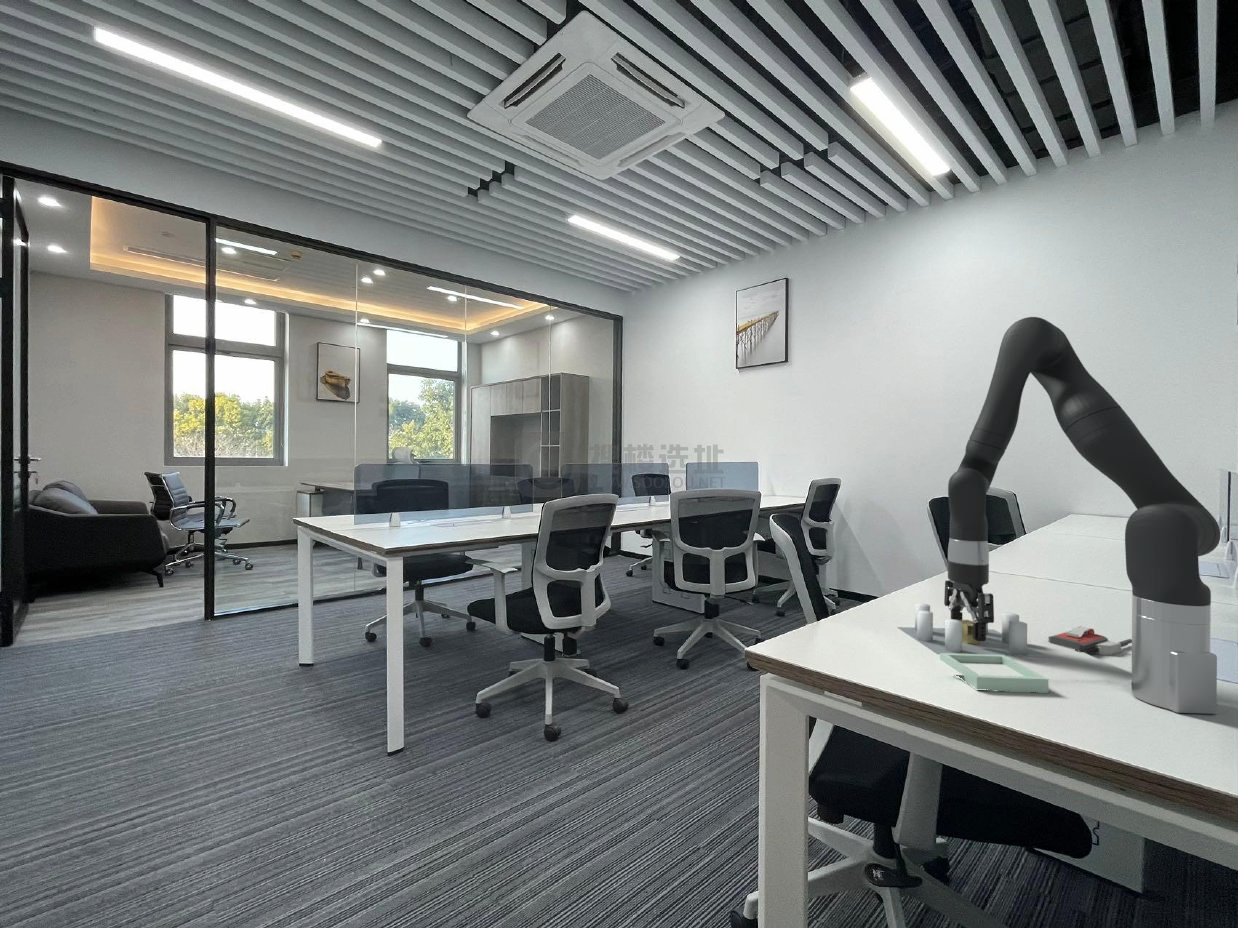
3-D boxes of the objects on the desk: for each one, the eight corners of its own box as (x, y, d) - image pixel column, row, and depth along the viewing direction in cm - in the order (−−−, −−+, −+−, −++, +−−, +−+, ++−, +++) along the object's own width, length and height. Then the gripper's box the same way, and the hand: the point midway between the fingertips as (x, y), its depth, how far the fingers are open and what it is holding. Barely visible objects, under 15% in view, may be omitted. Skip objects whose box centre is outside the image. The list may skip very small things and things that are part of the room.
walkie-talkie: (1093, 663, 109) (1137, 648, 118) (1093, 641, 109) (1137, 628, 118) (1043, 650, 117) (1088, 637, 126) (1043, 629, 117) (1088, 618, 126)
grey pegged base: (1050, 663, 108) (1050, 627, 108) (937, 659, 109) (937, 624, 109) (993, 634, 126) (993, 603, 126) (896, 632, 127) (897, 601, 127)
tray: (1048, 693, 93) (1048, 679, 93) (976, 690, 94) (976, 677, 94) (1003, 667, 105) (1003, 654, 105) (940, 665, 106) (940, 653, 106)
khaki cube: (985, 644, 115) (985, 625, 115) (961, 643, 115) (961, 625, 115) (973, 637, 119) (973, 619, 119) (949, 637, 120) (949, 619, 120)
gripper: (1007, 566, 110) (1006, 645, 110) (966, 554, 124) (966, 625, 124) (969, 565, 110) (968, 644, 110) (933, 554, 125) (932, 624, 125)
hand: (967, 634), depth 117 cm, fingers open, 8 cm apart
